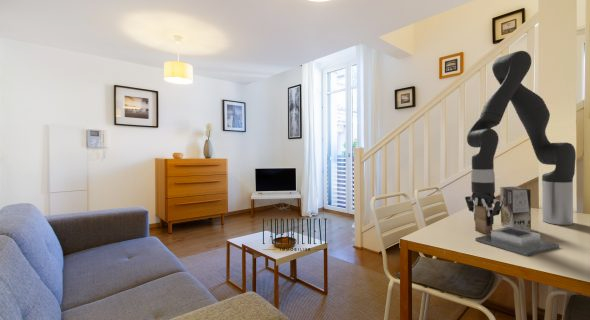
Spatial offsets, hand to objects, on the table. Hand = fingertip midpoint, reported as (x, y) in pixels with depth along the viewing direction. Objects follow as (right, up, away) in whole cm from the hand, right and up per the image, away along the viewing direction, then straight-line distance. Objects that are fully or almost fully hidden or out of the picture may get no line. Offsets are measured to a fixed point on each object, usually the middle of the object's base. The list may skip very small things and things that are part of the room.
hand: (483, 224), depth 107 cm
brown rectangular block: (0, -3, 0) cm, 3 cm away
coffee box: (+14, -2, +2) cm, 15 cm away
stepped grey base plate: (0, -3, -15) cm, 15 cm away
